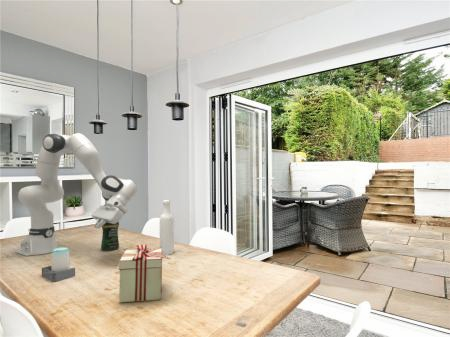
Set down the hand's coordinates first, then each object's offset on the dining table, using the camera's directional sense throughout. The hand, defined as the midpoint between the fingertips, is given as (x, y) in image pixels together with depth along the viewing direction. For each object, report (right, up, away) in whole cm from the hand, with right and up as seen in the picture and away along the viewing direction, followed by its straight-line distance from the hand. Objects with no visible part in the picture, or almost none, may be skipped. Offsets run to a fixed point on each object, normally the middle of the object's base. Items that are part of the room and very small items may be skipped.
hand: (96, 227), depth 139 cm
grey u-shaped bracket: (-10, -19, -14) cm, 25 cm away
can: (-10, -19, -14) cm, 25 cm away
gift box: (+34, -19, -31) cm, 50 cm away
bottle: (+31, -19, +20) cm, 41 cm away
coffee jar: (-4, -19, +28) cm, 34 cm away
